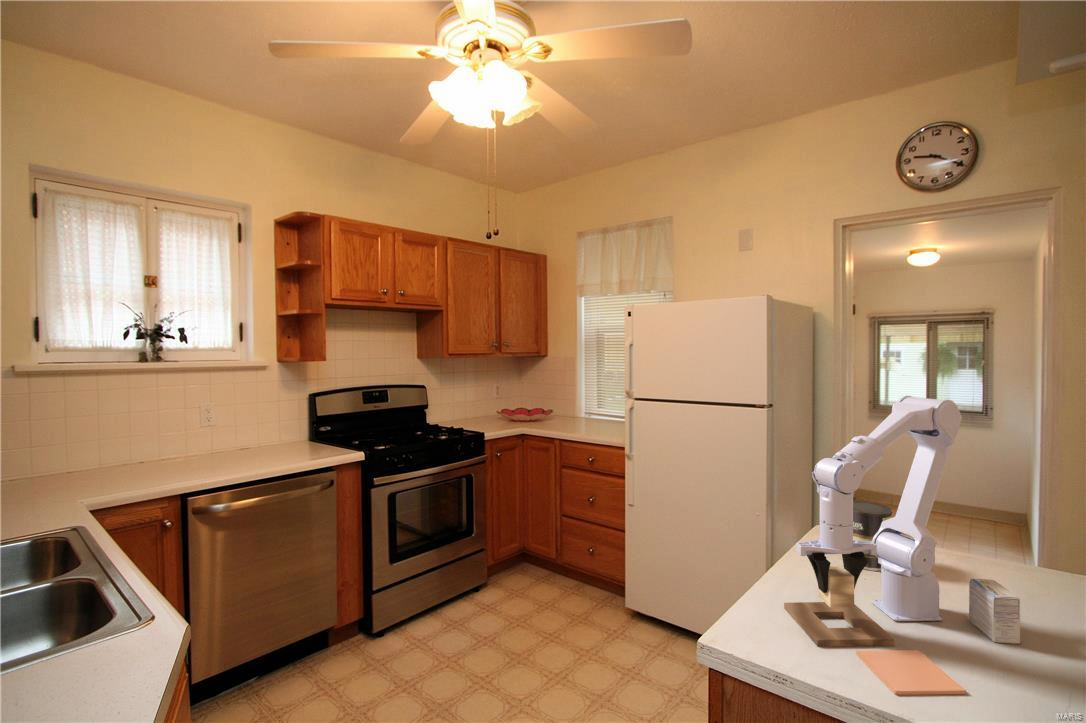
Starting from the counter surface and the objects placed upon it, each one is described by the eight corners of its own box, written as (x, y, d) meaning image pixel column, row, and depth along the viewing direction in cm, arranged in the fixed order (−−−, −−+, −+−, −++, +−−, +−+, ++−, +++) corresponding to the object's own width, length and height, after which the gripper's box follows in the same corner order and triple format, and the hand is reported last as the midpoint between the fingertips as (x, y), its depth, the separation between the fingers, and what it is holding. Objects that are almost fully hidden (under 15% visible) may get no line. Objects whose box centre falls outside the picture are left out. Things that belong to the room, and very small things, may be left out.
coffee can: (862, 572, 129) (862, 514, 128) (834, 555, 139) (834, 501, 138) (902, 570, 130) (902, 512, 129) (871, 553, 140) (872, 499, 139)
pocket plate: (851, 607, 112) (851, 601, 112) (894, 645, 98) (894, 639, 98) (784, 608, 113) (784, 602, 113) (817, 646, 99) (817, 640, 99)
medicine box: (1020, 645, 98) (1021, 598, 98) (992, 643, 99) (993, 596, 98) (994, 622, 106) (994, 579, 105) (968, 620, 106) (968, 577, 106)
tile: (918, 653, 96) (918, 650, 96) (965, 694, 85) (965, 690, 85) (855, 654, 96) (855, 650, 96) (895, 694, 85) (895, 691, 85)
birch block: (841, 596, 108) (841, 566, 107) (854, 607, 103) (854, 576, 103) (818, 596, 108) (818, 566, 107) (830, 607, 103) (830, 576, 103)
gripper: (861, 514, 109) (861, 580, 109) (789, 515, 109) (789, 581, 109) (883, 526, 102) (883, 597, 102) (805, 527, 102) (805, 598, 102)
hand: (836, 590), depth 105 cm, fingers closed on birch block, 4 cm apart
